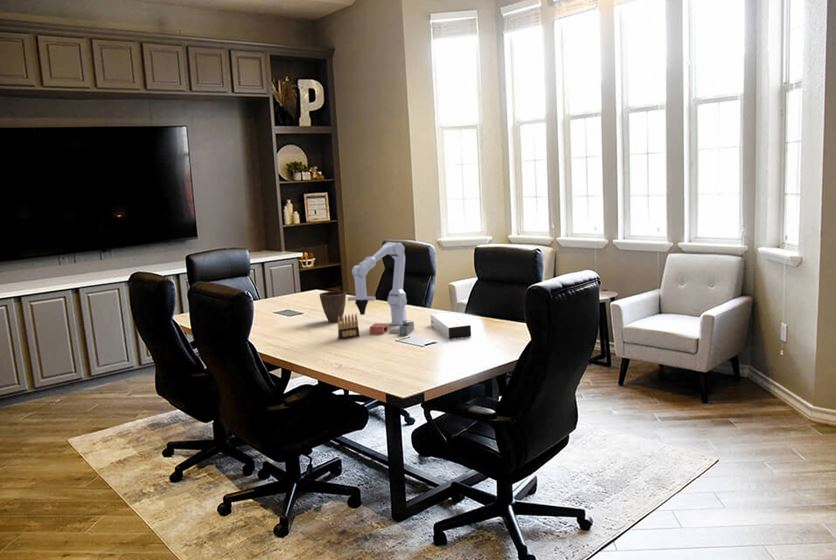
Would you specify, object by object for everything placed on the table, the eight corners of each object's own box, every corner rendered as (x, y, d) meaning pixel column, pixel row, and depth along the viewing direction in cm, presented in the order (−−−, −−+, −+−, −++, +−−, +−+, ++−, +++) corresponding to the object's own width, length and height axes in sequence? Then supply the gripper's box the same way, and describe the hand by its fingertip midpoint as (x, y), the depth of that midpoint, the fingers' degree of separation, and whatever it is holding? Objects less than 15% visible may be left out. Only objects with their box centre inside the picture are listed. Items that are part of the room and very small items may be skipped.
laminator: (471, 337, 332) (470, 325, 331) (447, 340, 329) (446, 328, 328) (451, 323, 365) (450, 312, 364) (429, 325, 362) (428, 314, 361)
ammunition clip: (339, 339, 342) (337, 316, 340) (338, 339, 343) (336, 315, 341) (359, 336, 345) (358, 313, 343) (358, 336, 347) (356, 312, 345)
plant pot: (317, 324, 380) (315, 296, 377) (327, 318, 394) (325, 291, 391) (342, 324, 376) (340, 295, 373) (351, 318, 390) (349, 290, 388)
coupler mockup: (393, 329, 356) (393, 318, 355) (414, 329, 353) (413, 318, 352) (386, 335, 345) (385, 323, 344) (407, 335, 342) (406, 323, 341)
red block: (375, 330, 357) (375, 323, 356) (388, 330, 355) (387, 323, 354) (370, 334, 349) (369, 326, 349) (383, 334, 347) (382, 327, 347)
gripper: (344, 290, 349) (346, 315, 351) (371, 289, 345) (373, 316, 347) (349, 287, 356) (351, 313, 358) (376, 287, 352) (377, 313, 354)
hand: (362, 314), depth 353 cm, fingers closed
